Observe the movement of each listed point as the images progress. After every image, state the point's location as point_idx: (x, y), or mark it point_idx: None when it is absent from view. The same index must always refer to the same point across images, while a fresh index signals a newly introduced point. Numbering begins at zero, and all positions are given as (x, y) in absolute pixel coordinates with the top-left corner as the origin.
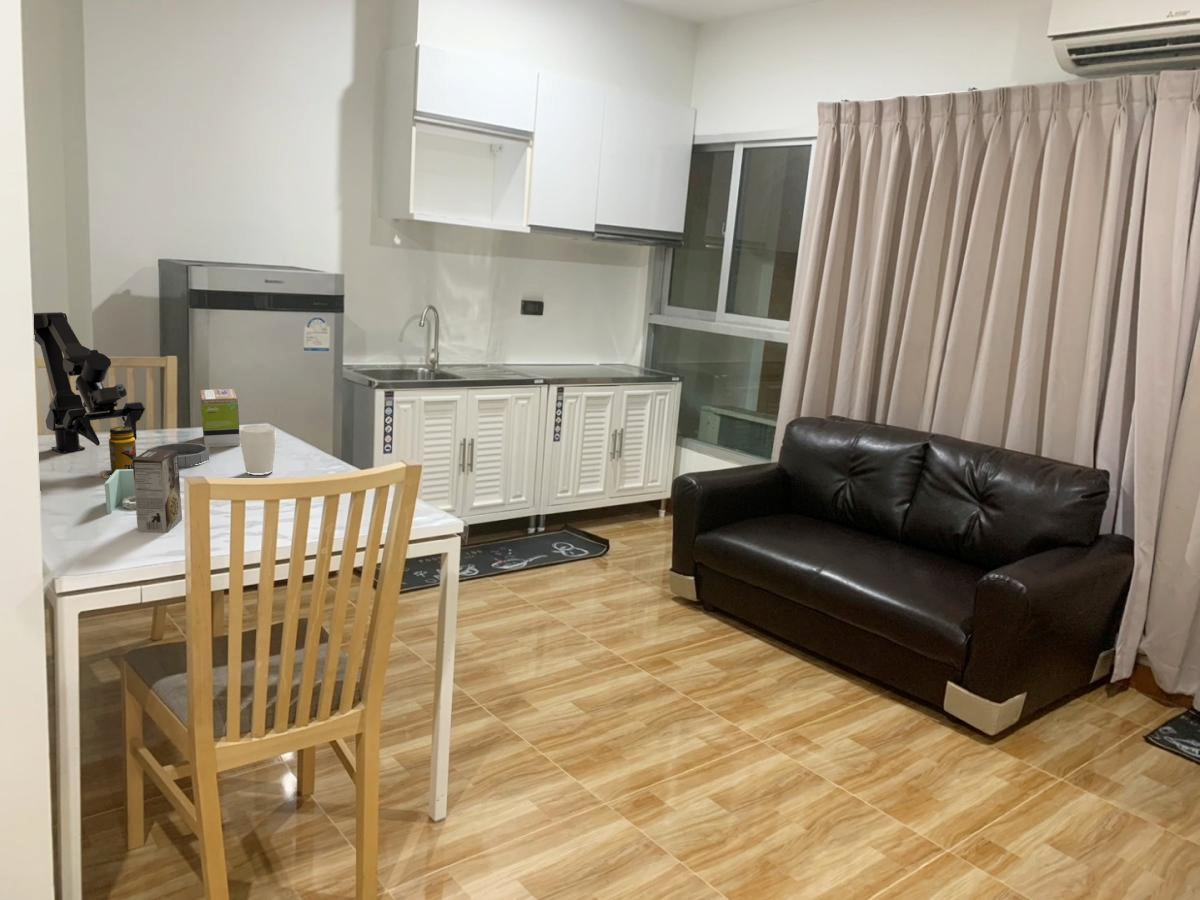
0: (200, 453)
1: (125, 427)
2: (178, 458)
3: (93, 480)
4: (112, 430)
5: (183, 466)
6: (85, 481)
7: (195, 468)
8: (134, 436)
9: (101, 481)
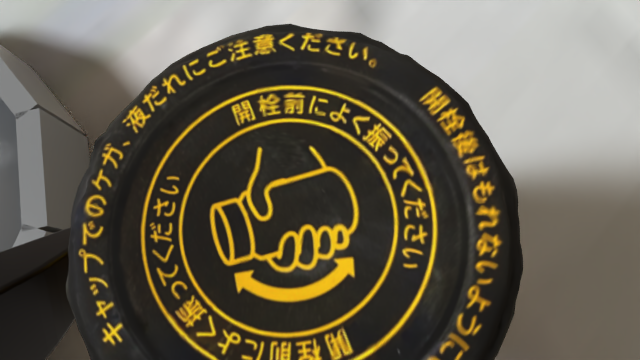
0: None
1: (140, 256)
2: (10, 62)
3: (570, 306)
4: (509, 260)
5: (34, 73)
6: (621, 333)
7: (33, 5)
8: None
9: (553, 239)
